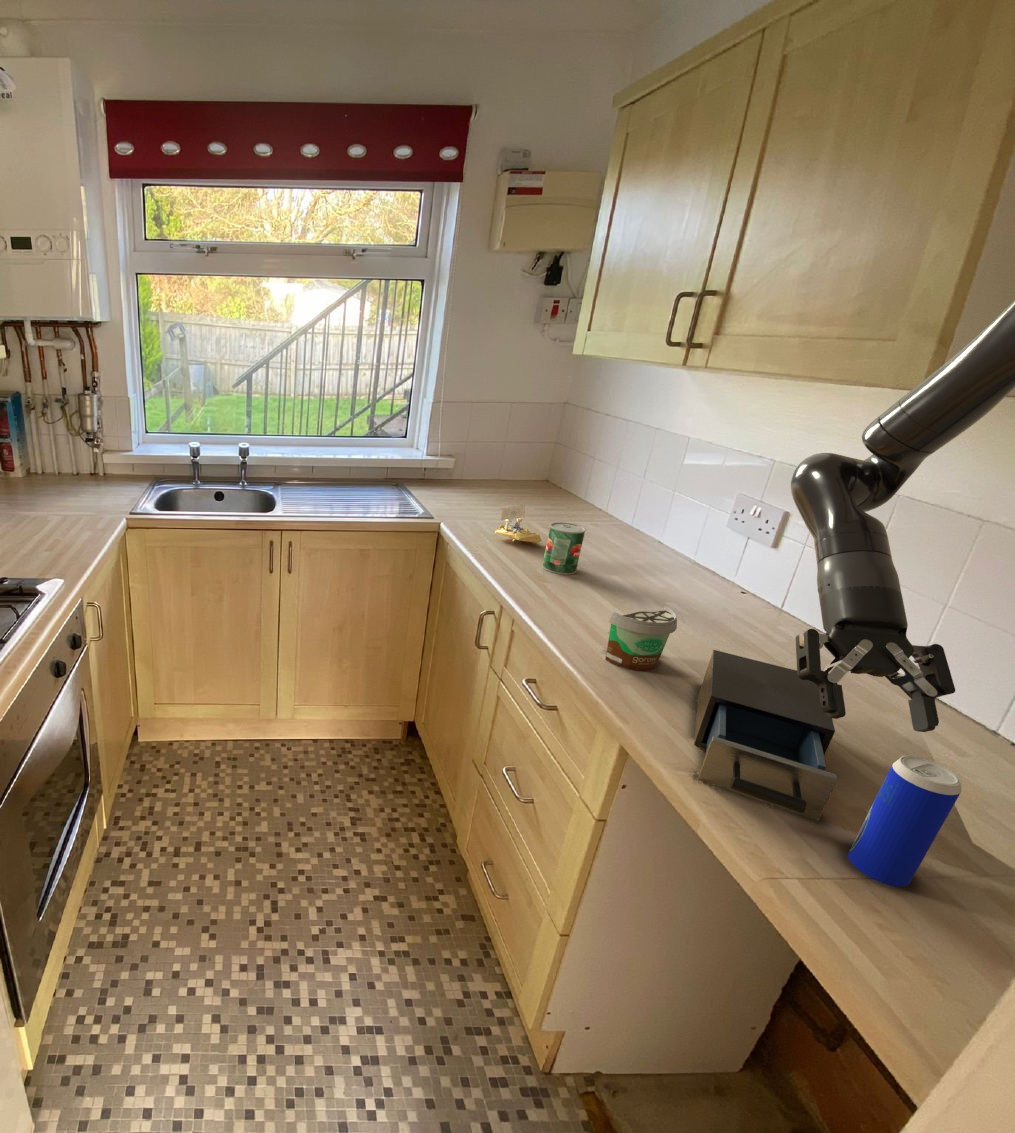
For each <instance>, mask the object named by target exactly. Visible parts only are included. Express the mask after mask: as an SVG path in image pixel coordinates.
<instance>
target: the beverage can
mask: <svg viewBox="0 0 1015 1133" xmlns="http://www.w3.org/2000/svg"><path fill="white" fill-rule="evenodd" d="M962 782H963V781H962V779H961V777H960V776H959V775H958V774H957V773H956V772H954V771H953V770H951V769H950V768H948V767H947V766H944V765H943V764H940V763H939V762H936V761H933V760H931V759H927V758H924V757H921V756H915V755H902V756H901V757H899V758H898V759H897V760H896V761H894V762H893V763H892V765H891V767H890V768H889V770H888V772H887V775H886V776H885V779H884V781H883V783H882V785H881V787H880V789H879V791H878V793H877V795H876V797H875V798H874V801H873V802H872V805H871V807H870V809H869V811H868V812H867V815H866V816H865V819H864V821H863V823H862V825H861V826H860V828H859V831H858V832H857V835H856V837H855V839H854V841H853V843H852V845H851V846H850V849H849V851H848V853H847V857H848V860H849V862H850V863H851V864H852V865H853V866H854V867H855V868H856V869H857V870H859V871H860V872H861V873H862V874H864V875H866V876H867V877H869V878H871V879H873V880H874V881H877V882H879V883H881V884H885V885H887V886H890V887H891V886H892V887H897V888H904V887H907V886H909V885H910V883H911V882H912V881H913V878H914V877H915V875H916V873H917V871H918V869H919V867H920V866H921V864H922V863H923V861H924V859H925V857H926V855H927V853H928V852H929V850H930V848H931V846H932V845H933V843H934V841H935V840H936V837H937V836H938V834H939V832H940V830H941V828H942V827H943V825H944V823H945V821H946V820H947V818H948V816H949V814H950V813H951V811H952V810H953V807H954V806H955V804H956V802H957V800H958V799H959V796H960V795H961V794H962Z"/></svg>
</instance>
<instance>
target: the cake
mask: <svg viewBox="0 0 1015 1133" xmlns="http://www.w3.org/2000/svg"><path fill="white" fill-rule="evenodd" d="M500 516H501V518H500V521H504V522H506V523H505V526H504V525H503V524H500V525H499V526H498V529H496V530H495V531H494V534H497V535H500V536H501V535H502V536H505V537H508V538H512V542H514V541H515V540H516V541H522V542H527V543H534V544H540V543H542V538H541V535H540V534H538V533H536V532H532V531H529V529H528V528H523V527H521V522H523V520H522V518H525V516H526V504H522V505H517V506H515V505H514V506H513V507H512V506H511V507H503V508H501V515H500ZM515 519H516V522H515V524H514V525H511V524H510V523H512V522H513V520H515ZM477 548H479V547H478V546H476V549H477Z"/></svg>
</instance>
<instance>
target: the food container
mask: <svg viewBox="0 0 1015 1133" xmlns="http://www.w3.org/2000/svg"><path fill="white" fill-rule="evenodd" d="M608 623H610V628H609V629H610V630H609V636H608V641H607V647H606V652H605V660H606V661H607V662H609V663H610V664H613V665H615V666H617V667H620V668H623V669H627V670H631V671H637V672H649V671H652V670H655V669H656V667H657V666H658V663H659V661H660V658H661V656H662V654H663V651H664V649H665V647H666V644H667V642H668V639H669V637H670V634H672V633H674V632H676V631H677V628H678V618H677V614H676V613H675V611H673V609H671V608H670V607H668V606H667V605H665V606H664V608H663V610H659V611H635V612H632V613H628V614H620V613H618V612H616V611H614V610H613V611H612V614H611V615H610V617H609V619H608Z"/></svg>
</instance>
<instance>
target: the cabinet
mask: <svg viewBox="0 0 1015 1133" xmlns="http://www.w3.org/2000/svg"><path fill="white" fill-rule="evenodd" d="M697 696H698V697H697V707H696V708H697V709H696V719H695V729H694V742H693V745H695V746H697V747H700V748H703V749H706V750H707V733H708V724H709V721H710V718H711V715H712V712H713V709H714V706H715V704H716V702H717V703H721V704H724V705H728V706H731V707H735V708H738V709H742V710H745V711H749V712H752V713H756V714H759V715H762V716H766V717H769V718H773V719H776V720H780V721H783V722H787V723H790V724H794V725H797V726H801V727H804V728H808V729H811V730H815V731H818V732H819V735H820V740H821V745H822V749H823V754H824V756H825V755H826V753H827V751H828V749H829V746H830V744H831V743H832V740H833V737H834V735H835V733H836V729H835V726H834V720H833V718H828V717H827V714H826V712H823V710H822V708H821V703H820V696H819V688H818V686H817V685H816V684H815V683H814V682H811V681H809V680H802V679H800V678H799V677H798V675H797V669H792V668H788V667H784V666H781V665H777V664H772V663H768V662H764V661H760V660H757V659H756V660H755V659H752V658H748V657H745V656H740V655H737V654H732V653H729V652H724V651H720V650H718V649H717V650H716V649H713V650H712V653H711V656H710V659H709V662H708V665H707V668H706V670H705V673H704V677H703V680H702V682H701V686H700V689H699V692H698V695H697Z"/></svg>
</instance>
